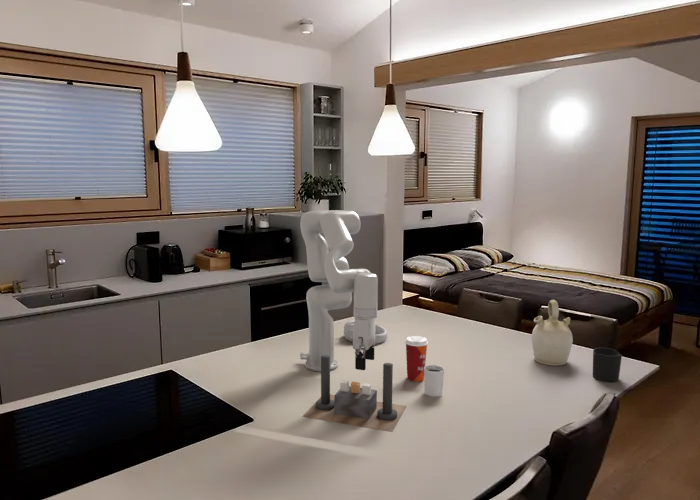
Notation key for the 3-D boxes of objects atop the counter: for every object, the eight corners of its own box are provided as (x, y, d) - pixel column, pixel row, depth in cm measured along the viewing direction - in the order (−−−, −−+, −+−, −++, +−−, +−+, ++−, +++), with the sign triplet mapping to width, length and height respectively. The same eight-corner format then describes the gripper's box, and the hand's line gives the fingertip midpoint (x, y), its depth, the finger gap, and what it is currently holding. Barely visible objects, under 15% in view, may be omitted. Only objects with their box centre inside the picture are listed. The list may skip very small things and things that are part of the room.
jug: (529, 364, 209) (532, 302, 206) (531, 352, 223) (534, 294, 220) (571, 370, 204) (575, 306, 200) (570, 357, 218) (575, 297, 214)
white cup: (430, 402, 174) (431, 373, 172) (419, 395, 179) (419, 366, 178) (447, 398, 177) (448, 370, 175) (435, 391, 183) (436, 363, 181)
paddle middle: (351, 392, 163) (350, 384, 162) (352, 389, 164) (352, 381, 163) (358, 393, 162) (358, 385, 161) (360, 390, 163) (359, 382, 162)
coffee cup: (426, 383, 189) (427, 343, 187) (403, 381, 191) (404, 341, 189) (427, 375, 197) (428, 336, 195) (405, 373, 199) (406, 334, 197)
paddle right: (362, 394, 161) (361, 385, 160) (363, 391, 163) (363, 383, 162) (369, 395, 161) (369, 386, 160) (371, 392, 162) (370, 384, 161)
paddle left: (340, 390, 164) (339, 382, 163) (342, 388, 165) (341, 379, 164) (348, 391, 163) (347, 383, 162) (349, 389, 164) (348, 381, 163)
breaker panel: (302, 421, 160) (301, 397, 159) (324, 397, 177) (324, 376, 176) (392, 436, 151) (392, 411, 150) (406, 410, 168) (407, 387, 167)
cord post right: (374, 418, 159) (375, 366, 156) (380, 410, 164) (381, 360, 162) (394, 421, 157) (395, 369, 154) (399, 413, 162) (400, 362, 160)
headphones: (341, 343, 232) (387, 350, 232) (344, 326, 230) (389, 333, 231) (343, 331, 250) (384, 337, 250) (345, 315, 249) (387, 321, 249)
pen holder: (623, 377, 196) (625, 351, 195) (614, 385, 189) (617, 358, 188) (596, 371, 202) (598, 346, 201) (587, 378, 196) (589, 351, 194)
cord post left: (312, 408, 165) (312, 358, 163) (320, 401, 171) (320, 352, 168) (330, 411, 163) (331, 361, 161) (337, 403, 169) (337, 354, 166)
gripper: (362, 305, 177) (361, 354, 179) (345, 317, 161) (345, 372, 163) (384, 306, 175) (383, 357, 177) (369, 320, 159) (368, 375, 161)
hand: (365, 364), depth 170 cm, fingers open, 9 cm apart
